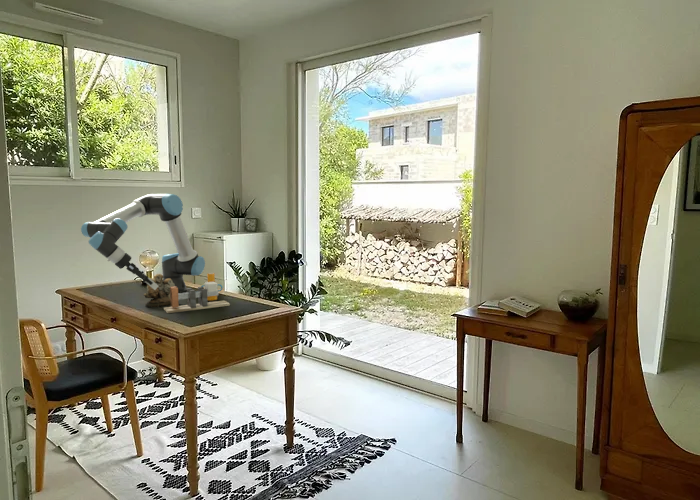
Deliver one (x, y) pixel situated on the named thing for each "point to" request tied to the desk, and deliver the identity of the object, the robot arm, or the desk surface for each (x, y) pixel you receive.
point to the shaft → (185, 295)
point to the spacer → (211, 286)
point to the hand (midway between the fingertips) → (154, 285)
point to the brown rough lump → (159, 292)
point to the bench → (186, 308)
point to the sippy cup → (212, 279)
